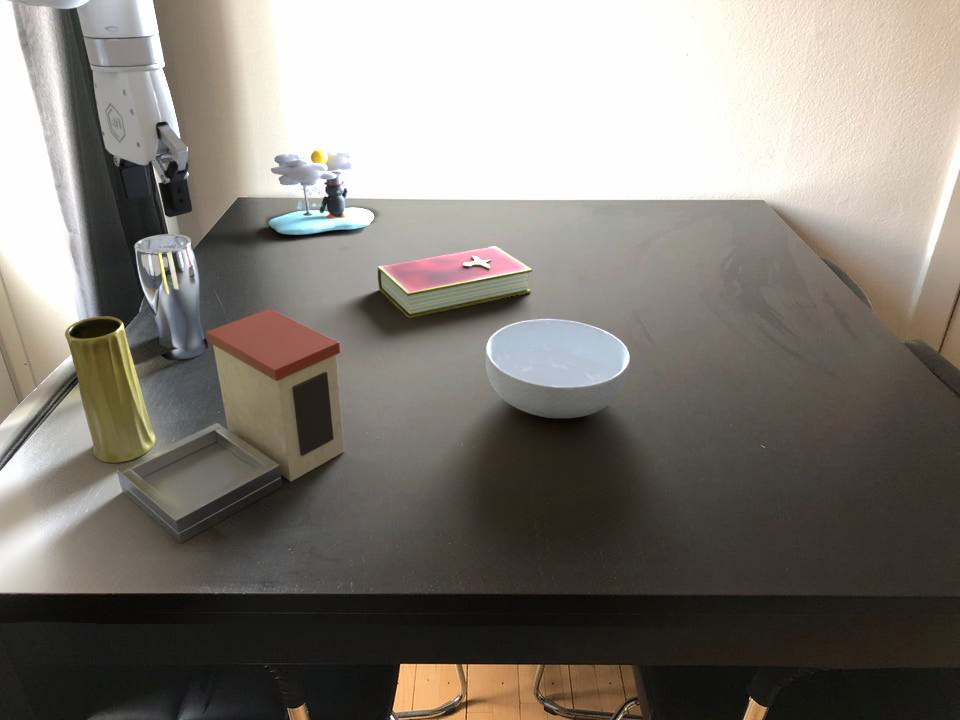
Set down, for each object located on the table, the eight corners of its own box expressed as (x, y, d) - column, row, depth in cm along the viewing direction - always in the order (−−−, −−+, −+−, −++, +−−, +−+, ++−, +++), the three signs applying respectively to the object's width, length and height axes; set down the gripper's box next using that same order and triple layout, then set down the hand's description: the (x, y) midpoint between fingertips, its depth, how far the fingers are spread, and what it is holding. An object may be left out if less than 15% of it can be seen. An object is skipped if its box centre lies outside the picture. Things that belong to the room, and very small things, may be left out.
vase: (131, 424, 83) (101, 309, 76) (168, 441, 80) (141, 323, 73) (81, 452, 78) (45, 332, 71) (119, 470, 76) (85, 347, 69)
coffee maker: (182, 545, 66) (153, 422, 60) (120, 490, 73) (88, 374, 67) (348, 451, 79) (339, 342, 73) (283, 411, 86) (269, 308, 79)
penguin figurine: (370, 215, 150) (365, 138, 143) (380, 232, 141) (375, 151, 134) (268, 223, 144) (258, 144, 137) (271, 241, 135) (261, 158, 128)
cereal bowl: (592, 458, 79) (598, 402, 75) (458, 414, 86) (458, 361, 82) (643, 387, 92) (650, 337, 88) (523, 354, 99) (525, 306, 95)
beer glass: (196, 333, 103) (177, 229, 96) (221, 350, 99) (202, 243, 91) (147, 349, 99) (123, 241, 91) (170, 367, 94) (146, 257, 87)
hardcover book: (378, 288, 117) (377, 264, 115) (493, 267, 126) (494, 243, 124) (408, 318, 108) (407, 291, 106) (530, 292, 117) (532, 267, 115)
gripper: (56, 49, 83) (94, 198, 92) (130, 64, 73) (165, 229, 82) (121, 43, 88) (151, 185, 97) (199, 57, 78) (225, 213, 87)
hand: (158, 205), depth 89 cm, fingers open, 9 cm apart
